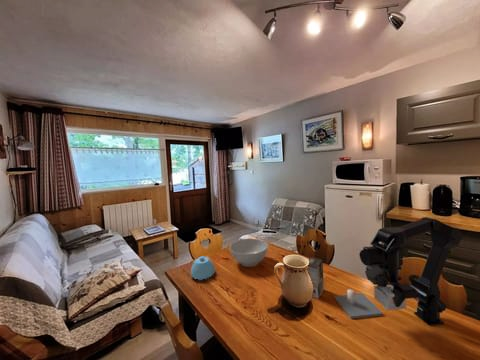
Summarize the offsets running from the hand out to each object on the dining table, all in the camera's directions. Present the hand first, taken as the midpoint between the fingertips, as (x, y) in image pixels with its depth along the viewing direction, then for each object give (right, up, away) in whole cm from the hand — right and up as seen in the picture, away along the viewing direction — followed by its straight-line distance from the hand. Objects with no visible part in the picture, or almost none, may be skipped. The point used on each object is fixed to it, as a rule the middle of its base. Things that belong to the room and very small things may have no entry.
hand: (389, 300), depth 77 cm
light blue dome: (-82, -13, +48) cm, 96 cm away
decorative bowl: (-52, -10, +59) cm, 79 cm away
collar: (0, -1, 0) cm, 1 cm away
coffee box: (-20, -10, +24) cm, 33 cm away
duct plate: (-6, -10, +12) cm, 16 cm away
